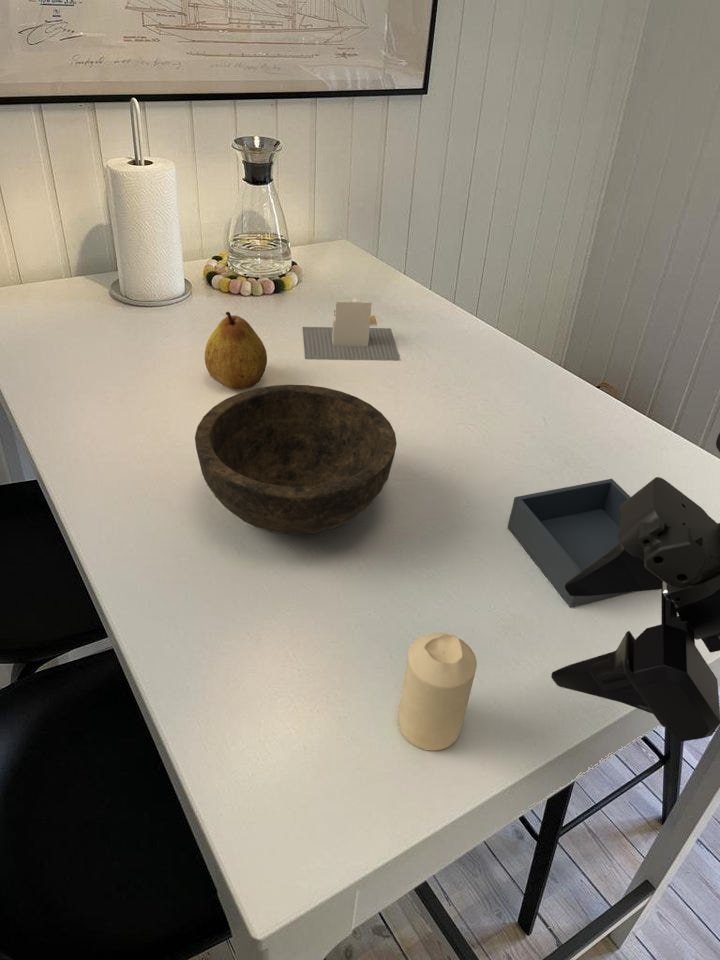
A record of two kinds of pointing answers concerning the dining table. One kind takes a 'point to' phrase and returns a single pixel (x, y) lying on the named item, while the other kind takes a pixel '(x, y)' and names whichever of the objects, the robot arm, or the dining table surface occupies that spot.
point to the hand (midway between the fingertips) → (561, 632)
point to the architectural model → (350, 336)
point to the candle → (436, 690)
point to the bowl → (295, 456)
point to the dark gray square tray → (569, 530)
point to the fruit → (235, 354)
